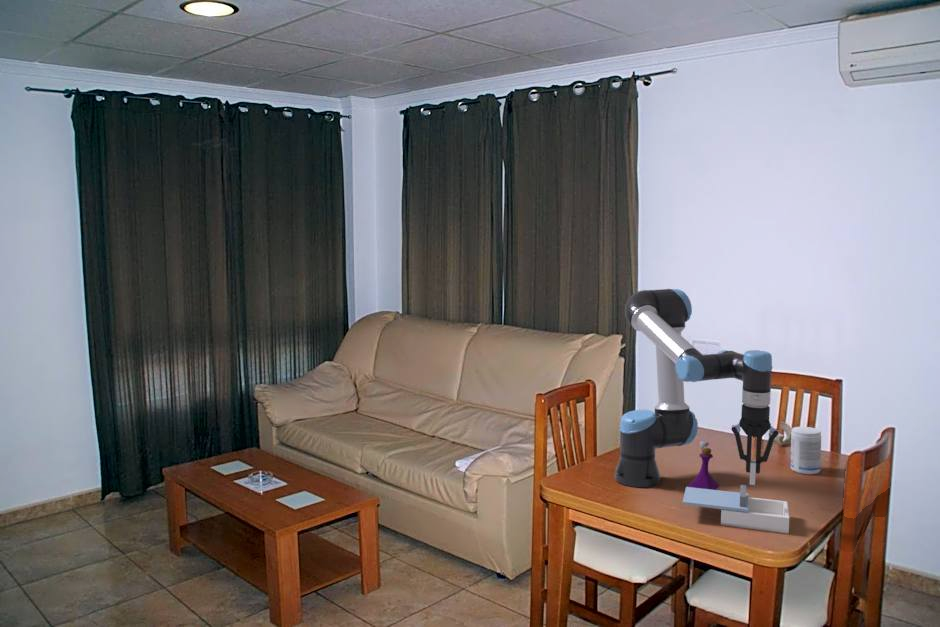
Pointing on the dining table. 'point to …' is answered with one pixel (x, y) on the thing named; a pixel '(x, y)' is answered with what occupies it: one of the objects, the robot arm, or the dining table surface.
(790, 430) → the beige irregular lump
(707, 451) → the perfume bottle
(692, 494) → the lid
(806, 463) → the supplement tub
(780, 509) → the storage box
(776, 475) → the dining table surface
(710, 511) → the dining table surface
